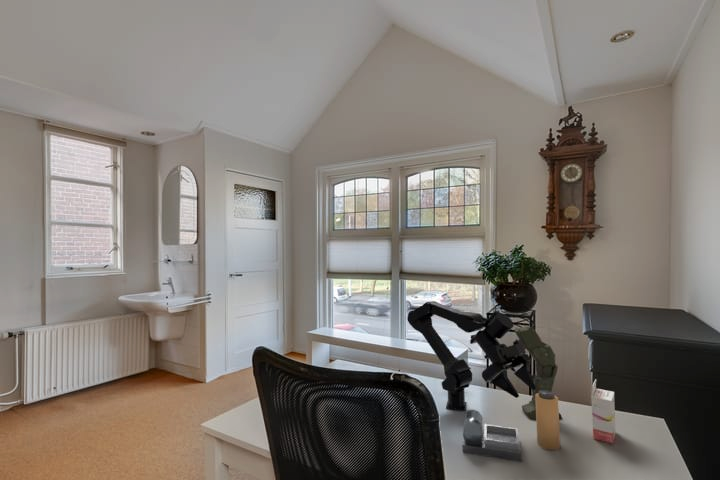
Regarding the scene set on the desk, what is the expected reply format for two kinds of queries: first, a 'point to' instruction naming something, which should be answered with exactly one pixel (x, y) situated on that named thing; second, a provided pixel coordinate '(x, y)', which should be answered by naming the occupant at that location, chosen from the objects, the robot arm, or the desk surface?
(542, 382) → the mechanical leg
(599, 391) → the ink cartridge box
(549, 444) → the bottle
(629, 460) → the desk surface
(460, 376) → the robot arm
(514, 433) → the motor mount
